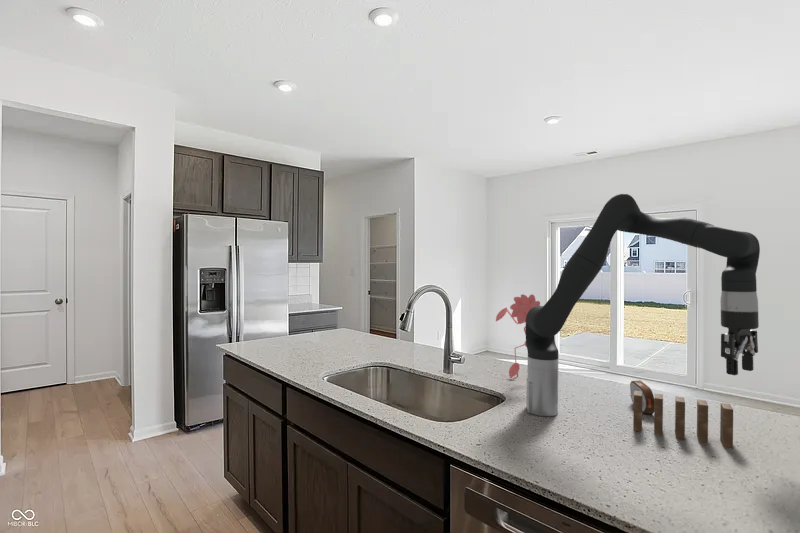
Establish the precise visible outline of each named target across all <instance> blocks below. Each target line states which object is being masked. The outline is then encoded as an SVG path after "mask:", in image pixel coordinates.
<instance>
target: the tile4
mask: <svg viewBox="0 0 800 533" xmlns="http://www.w3.org/2000/svg"><path fill="white" fill-rule="evenodd" d="M696 401H697V402H696V410H697V411H696V438H697V442H698V443H699V444H705V445H708V444H709V405H708V401H707V400H703V399H697V400H696Z"/></svg>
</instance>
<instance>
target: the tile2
mask: <svg viewBox="0 0 800 533" xmlns="http://www.w3.org/2000/svg"><path fill="white" fill-rule="evenodd" d="M653 396H654V413H653V420H654V421H653V424H654V425H653V435H656V436H662V437H663V434H664V433H663V432H664V431H663V429H664V428H663V426H664V420H663V419H664V395H663V394H661V393H656V392H655V393H654V394H653Z"/></svg>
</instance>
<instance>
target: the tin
mask: <svg viewBox="0 0 800 533" xmlns="http://www.w3.org/2000/svg"><path fill="white" fill-rule="evenodd" d="M629 383H630V384H629V386H630V387H629V388H630V389H629V390H630V398H631V402H632V403H633V405H634V391H642V414H647V415H648V414H651V415H654V394H653V391H652V389H651V387H650V386H648V385H647V384H646V383H644V382H643V381H642V380H631V382H629Z"/></svg>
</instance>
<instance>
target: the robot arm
mask: <svg viewBox="0 0 800 533" xmlns="http://www.w3.org/2000/svg"><path fill="white" fill-rule="evenodd" d="M617 231H619V232H622V233H630V234H638V235H645V236H651V237H656V238H662V239H666V240H670V241H672V242H675V243H676V242H677V243H680V244H682V245H687V246H691V247H693V248H697V249H702V250H705V251H707V252H709V253H712V254H715V255H718V256H720V257H724V258H726V266H725V269H724V270H723V271H722V272H721V277H720V278H721V284H720V285H721V294H720V326H722V327H723V328H727V329H728V331H727V333H725V332H724V333H723V332H722V333H721V334H720V357H721V358H724V359H725V362H726V364H725V365H726V367H725V368H726V374H727V375H730V376H731V375H732V376H738V375H739V361H738V359H739V356H740V354H741V368H742V370H743V371H748V372H752V371H754V357H755V356H756V354H757V353H759V346H758V345H759V344H758V342H759V340H758V331H757V329H758V328H759V325H760V324H759V298H758V294H757V289H758V288H757V269H758V265H759V260H760V254H761V252H760V251H761V248H760V241H759V239H758V237H757V236H756V235H754V234H753V233H751V232H747V231H741V230H733V229H730V228H723V227H720V226H715V225H714V224H710V223H709V222H705V221H700V220H697V219H693V218H688V217H681V216H680V217H678V216H676V217H657V216H652V215H649V214H647V213H645V212H644V211H641V209H640V207H639V205H638V203H637V202H636V200H635V198H634V197H633V195H631V194H628V193H619V194H616V195H614V196H612V197H611V198H609V200H608V201H606V203H605V204H604V206H603V208H602V209H601V211H600V213H599V215H598V217H597V219H596V220H595V222H594V223H593V226H591V228H590V230H589V232H587V235H586V236H585V237H584V239H583V240H582V241H581V243H580V244H579V246H578V247H577V249H576V250H575V251H574V253H573V254H572V255H571V257H570V259H569V260H568V261H567V262H566V264H565V265H564V268H563V270H562V272H561V275H560V277H559V279H558V280H559V281H558V284H557V286H556V289H555V290H554V292H553V294H552V295H551V296H550V297H549V299H548V300H547V301H546V303H545V304H544V305H540V306H535V307H533V308H532V309H530V310H529V312H528V313H527V316H526V322H525V326H526V328H525V330H526V335H525V341H526V346H527V347H526V346H525V347H526V350H527V377H526V386H527V387H526V391H525V392H526V396H525V397H526V398H525V399H526V401H525V402H526V411H527V413H528V414H532V415H535V416H541V417H553V416H554V417H555V416H558V414H559V349H558V347H557V345H556V340H555V336H556V335H557V334H559V333H560V332H561V330H562V328H563V326H564V325H565V324H566V322H567V320H568V317H569V315H570V314H571V312H572V310H573V309H574V307H575V305H576V304H577V303H578V301H579V300H580V298H581V297H582V296H583V294H584V293H585V292H586V291H587V289H588V287H590V285H591V284H592V282H593V281H594V280H595V278H596V277H597V276H598V274H599V273H600V271H601V269H602V268H603V266H604V264H605V262H606V259H607V255H608V252H609V248H610V245H611V242H612V240H613V237H614V235H615V234H616V232H617Z"/></svg>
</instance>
